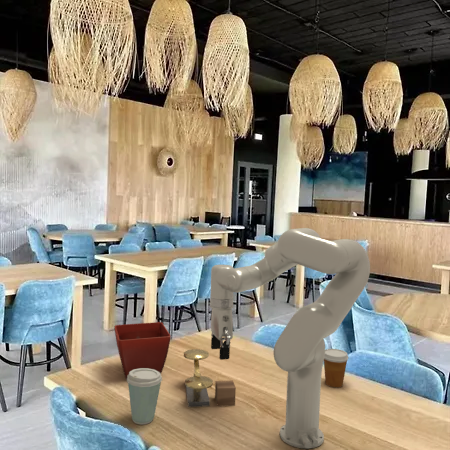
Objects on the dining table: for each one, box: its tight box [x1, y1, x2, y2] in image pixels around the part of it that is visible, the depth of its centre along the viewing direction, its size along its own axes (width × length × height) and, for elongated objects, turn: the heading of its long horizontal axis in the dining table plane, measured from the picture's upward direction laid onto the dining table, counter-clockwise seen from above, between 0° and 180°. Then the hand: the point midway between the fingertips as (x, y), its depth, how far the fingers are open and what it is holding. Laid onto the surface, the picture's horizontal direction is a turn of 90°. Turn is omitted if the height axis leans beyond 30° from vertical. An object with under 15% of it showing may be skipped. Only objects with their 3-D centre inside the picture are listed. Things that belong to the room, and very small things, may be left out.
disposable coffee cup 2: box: [323, 348, 349, 388], centre depth 166 cm, size 10×10×12 cm
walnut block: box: [214, 379, 237, 407], centre depth 149 cm, size 6×6×6 cm
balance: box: [183, 348, 214, 408], centre depth 154 cm, size 23×9×12 cm, turn 8°
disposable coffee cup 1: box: [126, 368, 163, 425], centre depth 135 cm, size 11×11×15 cm
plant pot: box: [114, 321, 171, 381], centre depth 170 cm, size 19×19×17 cm
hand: (219, 353), depth 146 cm, fingers open, 9 cm apart
